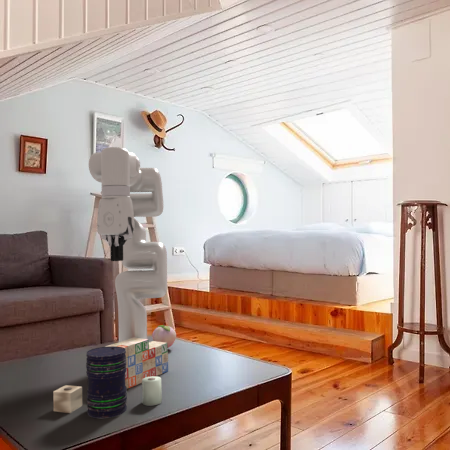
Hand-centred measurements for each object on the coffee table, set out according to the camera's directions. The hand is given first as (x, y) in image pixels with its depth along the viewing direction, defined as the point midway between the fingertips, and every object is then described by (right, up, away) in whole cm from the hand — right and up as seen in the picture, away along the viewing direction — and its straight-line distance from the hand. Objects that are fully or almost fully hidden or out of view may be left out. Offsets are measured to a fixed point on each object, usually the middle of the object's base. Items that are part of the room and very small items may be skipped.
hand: (117, 260), depth 126 cm
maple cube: (-11, -37, -7) cm, 40 cm away
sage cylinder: (+10, -37, -4) cm, 38 cm away
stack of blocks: (+3, -38, +15) cm, 41 cm away
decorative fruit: (+7, -38, +51) cm, 64 cm away
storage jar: (0, -37, -9) cm, 38 cm away
